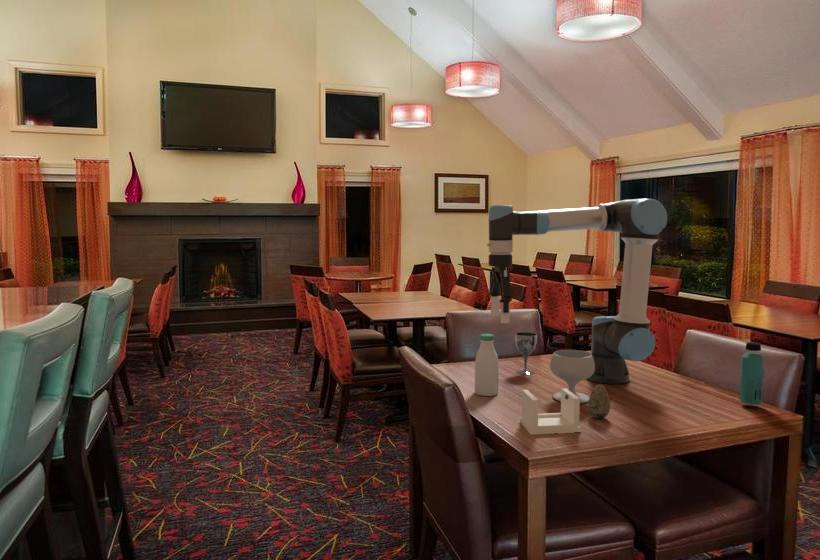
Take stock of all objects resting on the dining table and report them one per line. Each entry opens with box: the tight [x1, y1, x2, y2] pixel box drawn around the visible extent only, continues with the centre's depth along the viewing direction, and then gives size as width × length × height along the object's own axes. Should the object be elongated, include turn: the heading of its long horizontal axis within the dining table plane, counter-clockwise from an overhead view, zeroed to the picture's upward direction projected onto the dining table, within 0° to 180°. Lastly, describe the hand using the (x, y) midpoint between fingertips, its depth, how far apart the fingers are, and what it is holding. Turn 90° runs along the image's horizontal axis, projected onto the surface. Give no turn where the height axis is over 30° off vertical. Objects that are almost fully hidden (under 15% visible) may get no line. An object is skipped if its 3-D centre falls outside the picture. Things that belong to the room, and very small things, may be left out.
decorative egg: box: [588, 383, 611, 419], centre depth 174 cm, size 6×6×10 cm
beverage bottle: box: [738, 341, 765, 406], centre depth 183 cm, size 6×7×20 cm
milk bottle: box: [474, 333, 499, 397], centre depth 198 cm, size 8×8×20 cm
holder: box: [519, 387, 582, 436], centre depth 166 cm, size 14×10×10 cm
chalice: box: [549, 349, 595, 404], centre depth 192 cm, size 14×14×15 cm
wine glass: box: [514, 331, 538, 376], centre depth 225 cm, size 8×8×15 cm
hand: (499, 319), depth 192 cm, fingers open, 13 cm apart
